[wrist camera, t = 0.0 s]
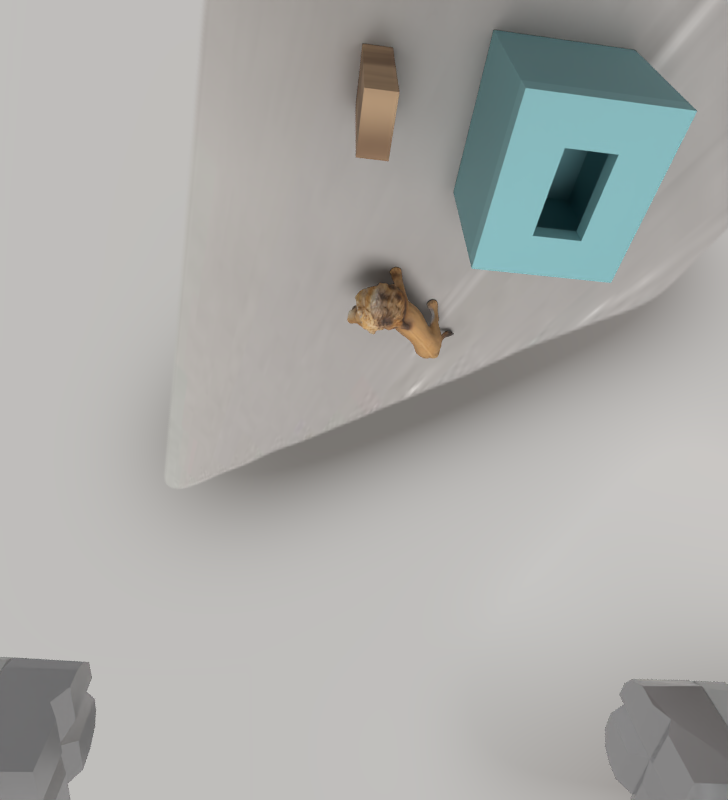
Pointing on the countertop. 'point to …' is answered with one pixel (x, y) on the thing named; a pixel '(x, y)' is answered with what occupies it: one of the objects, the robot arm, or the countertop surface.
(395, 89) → the block
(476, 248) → the money box
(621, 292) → the countertop surface
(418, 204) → the countertop surface
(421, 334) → the lion figurine
